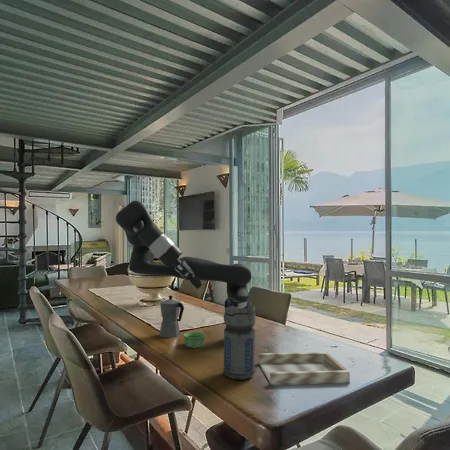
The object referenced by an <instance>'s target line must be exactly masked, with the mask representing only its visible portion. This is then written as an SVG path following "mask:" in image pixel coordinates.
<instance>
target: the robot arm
mask: <svg viewBox="0 0 450 450" xmlns="http://www.w3.org/2000/svg"><path fill="white" fill-rule="evenodd" d="M115 222H116V223H117V224H118V226H119V227H121V228H122V229H123V231H124V234H125V236H126V239H127V241H128V243H129V244H130V245H131V246H132V251H131V253H130V259H129V265H128V269H129V271H130V272H132V273H133V274H138V275H147V276H166V277H175V278H180V279H185V280H186V281H188V282H190V284H192V285H193V287H195V288H196V289H197V290H198V289H200V288H201V287H202V285H203V284H202V281H206V282H207V281H208V282H212V281H213V282H221V283H222V282H223V283H226V295H227V298H230V297H231V298H234V299H236V301H240V302H241V303H238V305H247V300H250V299H249V293H248V286H247V285H248V284H249V283H250V281H251V280H252V272H251V270H250V268H249V267H247V265H244V264H241V263H234V264H233V263H232V264H224V263H220V262H219V263H217V262H215V261H212V260H208V259H204V258H201V257H200V258H199V257H193V256H183V257H181V255H182V254H183V251H182V250H181V249H180V247H178V246H177V244H175V242H174V241H173V240H172V239H171V238H170V237H169V236H167V235H166V234H165V233H164V232H163V231H162V230H161V229H160V228H159V227H158V225H156V224H155V222H154V221H153V218H152V217H151V215H150V214H149V212H148V210H147V208H146V206H145V204H143V203H142V202H141V201H139V200H132V201H131V202H129V203H128V204H127V205H125V206H124V207H123V208H122V209H120V210H119V211H118V212H117V213H116V215H115ZM155 257H156V258H157V259H158V260H159V261H160V263H157V264H156V263H154V259H155Z"/></svg>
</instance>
